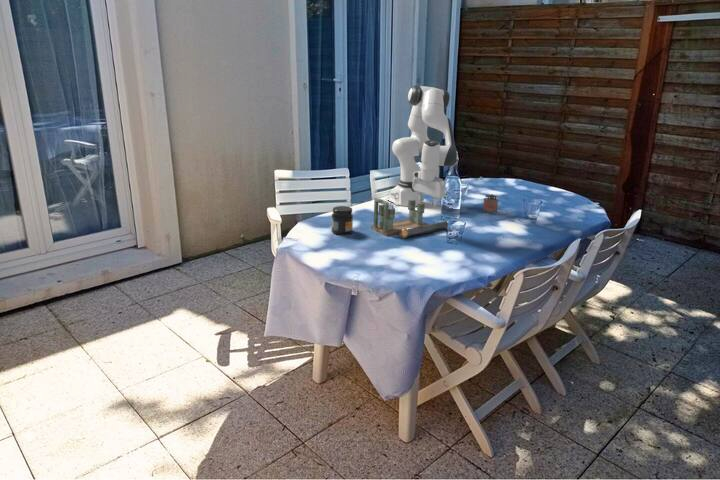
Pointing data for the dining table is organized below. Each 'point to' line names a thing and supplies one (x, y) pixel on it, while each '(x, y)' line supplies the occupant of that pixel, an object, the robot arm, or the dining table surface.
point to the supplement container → (342, 220)
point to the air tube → (423, 229)
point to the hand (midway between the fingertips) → (427, 203)
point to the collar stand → (388, 215)
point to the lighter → (490, 204)
